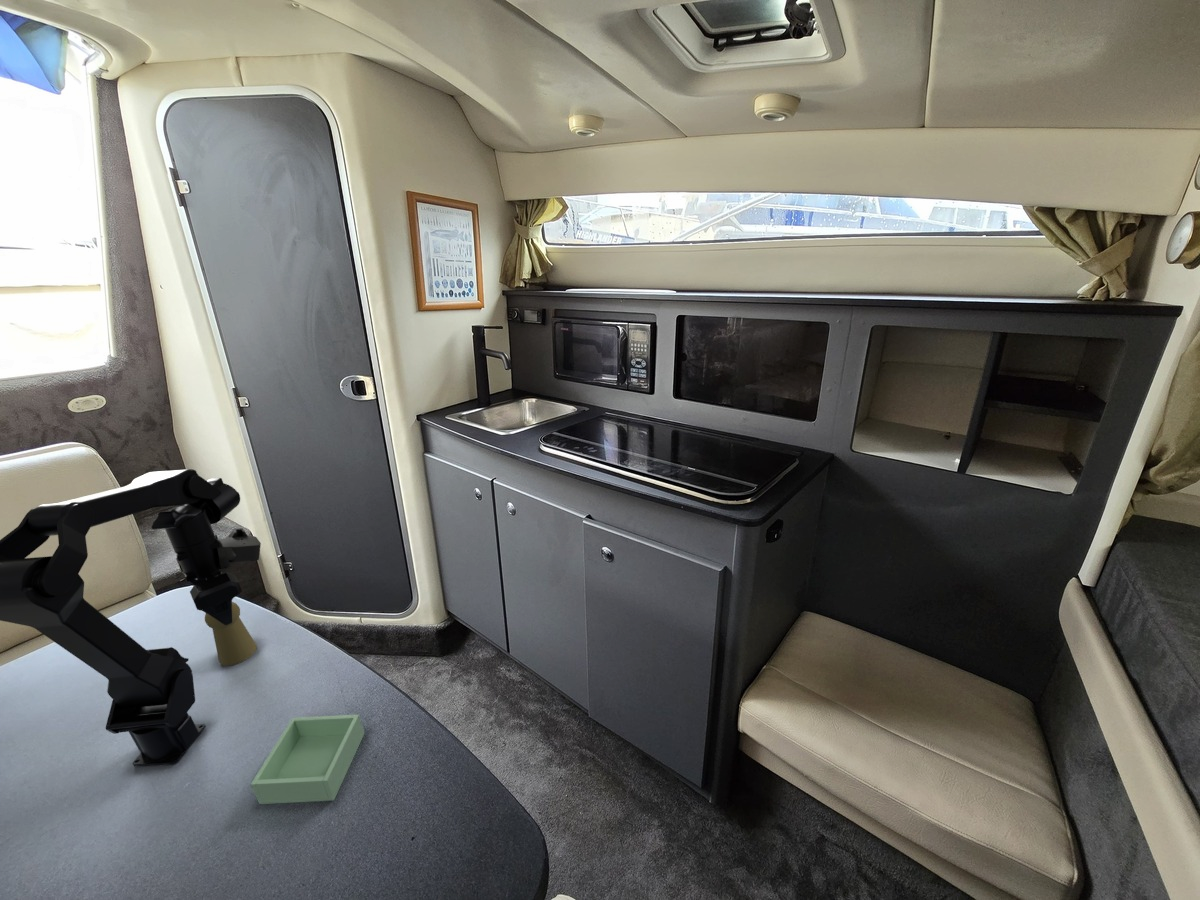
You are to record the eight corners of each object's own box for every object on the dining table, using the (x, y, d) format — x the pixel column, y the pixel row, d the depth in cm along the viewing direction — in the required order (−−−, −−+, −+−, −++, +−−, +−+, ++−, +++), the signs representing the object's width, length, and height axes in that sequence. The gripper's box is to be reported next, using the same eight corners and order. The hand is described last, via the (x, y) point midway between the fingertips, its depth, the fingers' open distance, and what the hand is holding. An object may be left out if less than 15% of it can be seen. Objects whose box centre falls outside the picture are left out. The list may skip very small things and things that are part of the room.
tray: (259, 804, 68) (250, 784, 66) (299, 736, 77) (292, 717, 75) (334, 800, 68) (326, 780, 66) (364, 733, 77) (359, 714, 76)
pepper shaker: (237, 667, 90) (218, 620, 86) (210, 663, 92) (190, 616, 88) (264, 643, 96) (247, 598, 92) (238, 640, 97) (220, 594, 93)
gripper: (262, 538, 83) (287, 612, 89) (236, 504, 95) (260, 571, 101) (179, 568, 76) (213, 647, 82) (162, 527, 88) (193, 597, 94)
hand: (223, 611), depth 90 cm, fingers open, 9 cm apart
